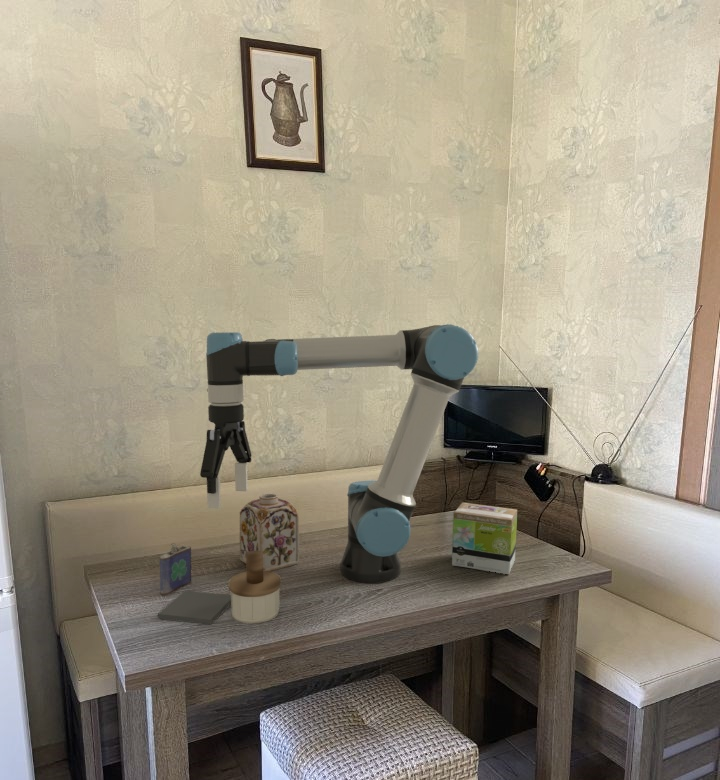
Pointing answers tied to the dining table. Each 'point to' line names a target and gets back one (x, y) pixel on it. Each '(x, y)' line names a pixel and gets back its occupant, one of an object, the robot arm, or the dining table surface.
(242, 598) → the bowl
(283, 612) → the dining table surface
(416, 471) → the robot arm
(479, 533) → the tea box
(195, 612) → the mat
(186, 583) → the flask
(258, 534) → the decorative jar
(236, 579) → the lid
